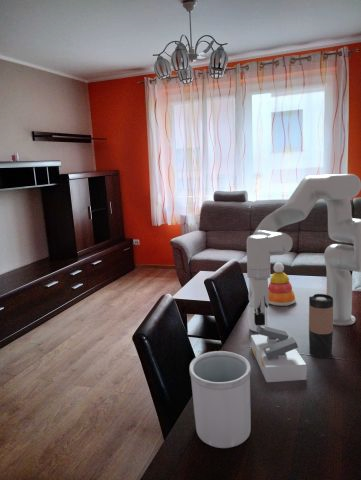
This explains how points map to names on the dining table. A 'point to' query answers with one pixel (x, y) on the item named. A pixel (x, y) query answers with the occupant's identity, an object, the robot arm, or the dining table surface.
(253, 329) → the can
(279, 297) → the stacking toy
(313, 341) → the travel mug
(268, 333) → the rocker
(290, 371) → the switch housing
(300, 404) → the dining table surface
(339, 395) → the dining table surface
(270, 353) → the block
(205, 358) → the utensil holder
